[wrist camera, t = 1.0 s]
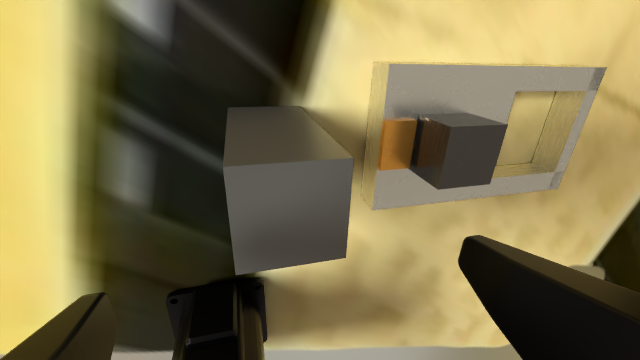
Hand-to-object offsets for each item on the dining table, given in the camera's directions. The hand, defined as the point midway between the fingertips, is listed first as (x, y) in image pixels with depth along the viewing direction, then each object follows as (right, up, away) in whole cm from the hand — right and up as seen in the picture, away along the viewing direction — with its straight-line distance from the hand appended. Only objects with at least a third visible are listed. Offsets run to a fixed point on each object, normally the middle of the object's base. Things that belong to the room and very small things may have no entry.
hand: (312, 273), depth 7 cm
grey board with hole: (+11, +6, +14) cm, 19 cm away
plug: (-3, +5, +10) cm, 12 cm away
